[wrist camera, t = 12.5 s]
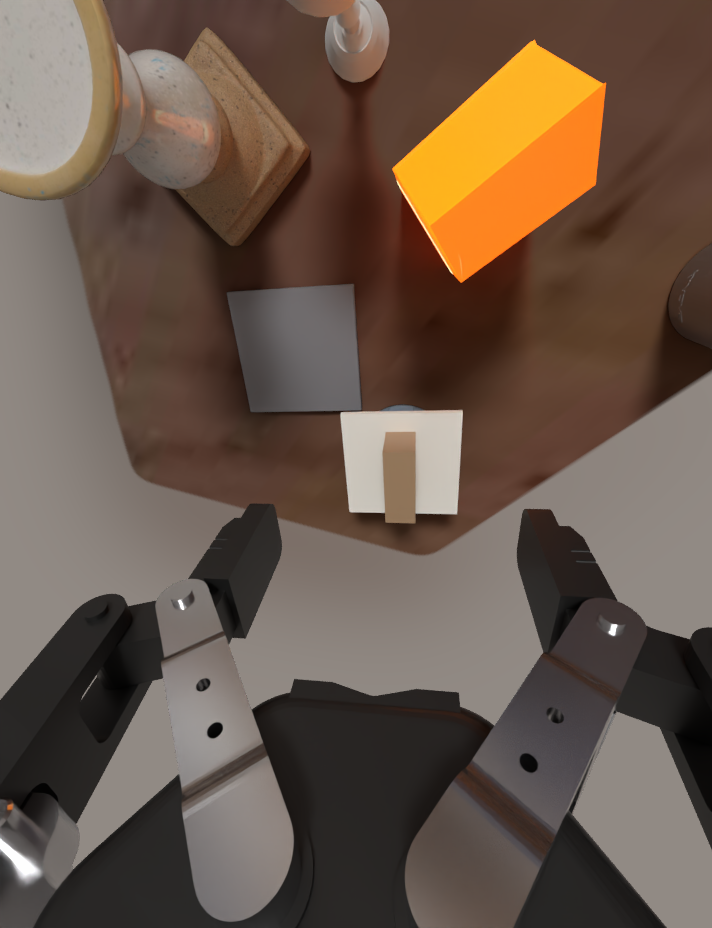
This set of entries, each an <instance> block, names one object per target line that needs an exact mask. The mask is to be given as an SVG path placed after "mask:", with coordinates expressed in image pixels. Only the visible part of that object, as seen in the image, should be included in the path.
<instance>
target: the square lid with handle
mask: <svg viewBox="0 0 712 928" xmlns="http://www.w3.org/2000/svg"><path fill="white" fill-rule="evenodd" d="M340 415H341V426H342V437H343V447H344V458H345V469H346V479H347V490H348V501H349V511H350V512H367V513H385V522H386V523H415V520H416V513H418V514H457V506H458V488H459V470H460V453H461V435H462V417H463V411H462V410H436V411H377V412H341V414H340Z"/></svg>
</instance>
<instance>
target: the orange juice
mask: <svg viewBox="0 0 712 928" xmlns="http://www.w3.org/2000/svg"><path fill="white" fill-rule="evenodd" d="M605 87H606V83H604V84H602V83H600V82H599V81H597V80H595V79H593V78H592V77H590V76H588V75H587V74H585V73H583V72H582V71H580V70H578V69H577V68H575V67H573V66H572V65H570V64H568V63H566V62H565V61H563V60H561V59H560V58H558V57H556V56H555V55H553V54H551V53H550V52H548V51H546V50H545V49H543V48H541V47H539V46H538V45H537V44H536V42H535V40H534V41H532V42H530V43H529V44H528V45H527V46H526V47H525V48H523V49H522V50H521V51H520V52H519V53H518V54H517V55H516V56H515V57H514V58H513V59H511V60H510V61H509V62H508V63H507V64H506V65H505V66H504V67H503V68H502V69H501V70H499V71H498V72H497V73H496V74H495V75H494V76H493V77H492V78H491V79H490V80H489V81H487V82H486V83H485V84H484V85H483V86H482V87H481V88H480V89H479V90H478V91H477V92H475V93H474V94H473V95H472V96H471V97H470V98H469V99H468V100H467V101H466V102H465V103H463V104H462V105H461V106H460V107H459V108H458V109H457V110H456V111H455V112H454V113H453V114H451V115H450V116H449V117H448V118H447V119H446V120H445V121H444V122H443V123H442V124H441V125H439V126H438V127H437V128H436V129H435V130H434V131H433V132H432V133H431V134H430V135H429V136H427V137H426V138H425V139H424V140H423V141H422V142H421V143H420V144H419V145H418V146H417V147H415V148H414V149H413V150H412V151H411V152H410V153H409V154H408V155H407V156H406V157H405V158H403V159H402V160H401V161H400V162H399V163H398V164H397V165H396V166H395V167H394V168H393V172H394V174H395V177H396V179H397V183H398V185H399V187H400V189H401V191H402V193H403V195H404V196H405V198H406V200H407V201H408V203H409V205H410V206H411V208H412V210H413V211H414V213H415V215H416V216H417V218H418V220H419V221H420V223H421V225H422V226H423V228H424V230H425V231H426V233H427V235H428V236H429V238H430V240H431V241H432V243H433V245H434V246H435V248H436V250H437V251H438V253H439V255H440V256H441V258H442V260H443V261H444V263H445V265H446V266H447V267H448V269H449V270H450V272H451V273H452V274H454V276H455V277H456V278H457V279H458V280H459V281H460V282H461V283H462V282H463V281H464V280H466V279H467V278H468V277H470V276H471V275H472V274H474V273H475V272H477V271H478V270H479V269H481V268H482V267H483V266H485V265H486V264H487V263H489V262H490V261H492V260H493V259H494V258H496V257H497V256H498V255H500V254H501V253H503V252H504V251H505V250H507V249H508V248H509V247H511V246H512V245H513V244H515V243H516V242H518V241H519V240H520V239H522V238H523V237H524V236H526V235H527V234H529V233H530V232H531V231H533V230H534V229H535V228H537V227H538V226H539V225H541V224H542V223H544V222H545V221H546V220H548V219H549V218H550V217H552V216H553V215H555V214H556V213H557V212H559V211H560V210H561V209H563V208H564V207H565V206H567V205H568V204H570V203H571V202H572V201H574V200H575V199H576V198H578V197H579V196H581V195H582V194H583V193H585V192H586V191H587V190H589V189H590V188H591V187H593V186H594V185H595V183H596V173H597V164H598V154H599V145H600V135H601V125H602V116H603V106H604V96H605Z"/></svg>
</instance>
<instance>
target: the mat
mask: <svg viewBox="0 0 712 928" xmlns="http://www.w3.org/2000/svg"><path fill="white" fill-rule="evenodd" d="M227 297H228V302H229V307H230V312H231V317H232V322H233V327H234V332H235V337H236V342H237V347H238V351H239V356H240V361H241V366H242V371H243V376H244V381H245V386H246V391H247V396H248V401H249V406H250V411H251V412H292V411H350V410H362V398H361V383H360V368H359V352H358V337H357V322H356V307H355V292H354V284H342V285H326V286H310V287H294V288H278V289H262V290H246V291H231V292H227Z"/></svg>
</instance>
